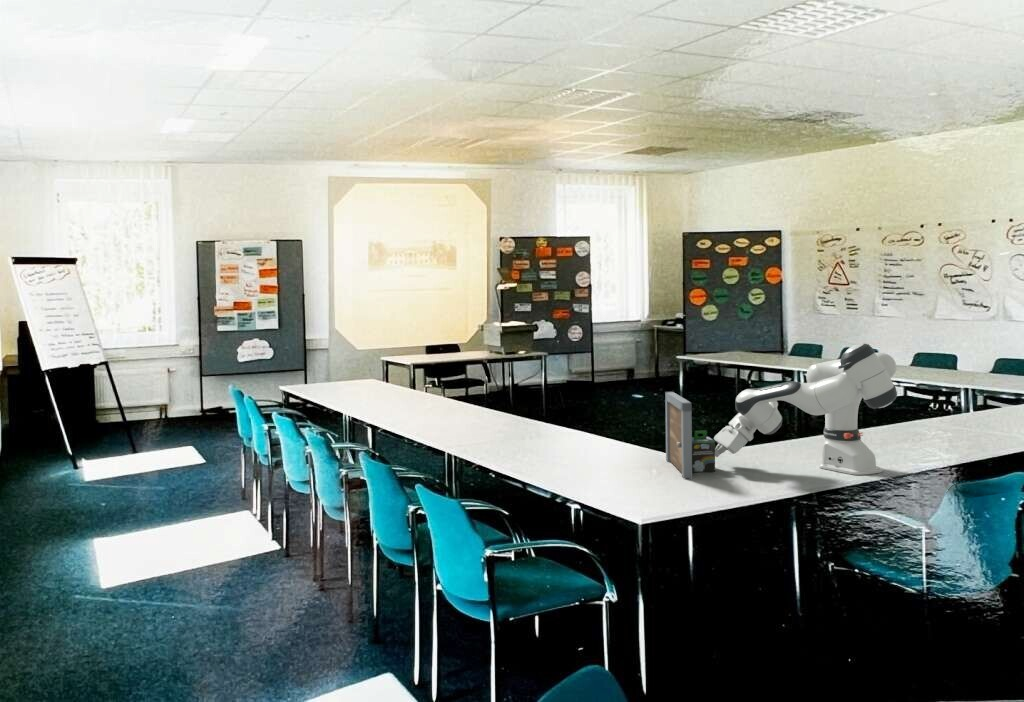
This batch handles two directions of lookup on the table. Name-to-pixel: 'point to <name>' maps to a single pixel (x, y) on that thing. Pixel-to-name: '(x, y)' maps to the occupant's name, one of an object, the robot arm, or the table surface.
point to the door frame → (685, 430)
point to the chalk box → (703, 453)
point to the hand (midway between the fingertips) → (714, 455)
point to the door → (675, 437)
